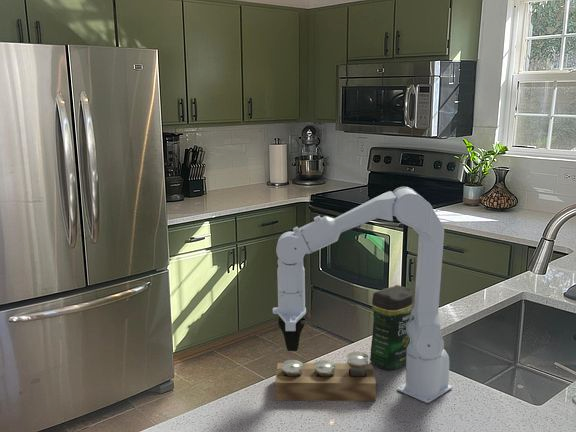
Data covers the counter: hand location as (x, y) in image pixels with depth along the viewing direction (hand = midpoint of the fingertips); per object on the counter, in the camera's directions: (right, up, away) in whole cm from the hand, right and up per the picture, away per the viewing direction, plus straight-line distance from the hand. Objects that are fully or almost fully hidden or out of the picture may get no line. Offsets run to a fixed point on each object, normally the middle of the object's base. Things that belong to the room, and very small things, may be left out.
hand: (292, 349), depth 120 cm
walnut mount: (+7, -9, +1) cm, 12 cm away
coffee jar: (+24, -7, +14) cm, 28 cm away
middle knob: (+7, -9, +1) cm, 11 cm away
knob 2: (+14, -7, +1) cm, 16 cm away
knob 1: (0, -9, +2) cm, 9 cm away
